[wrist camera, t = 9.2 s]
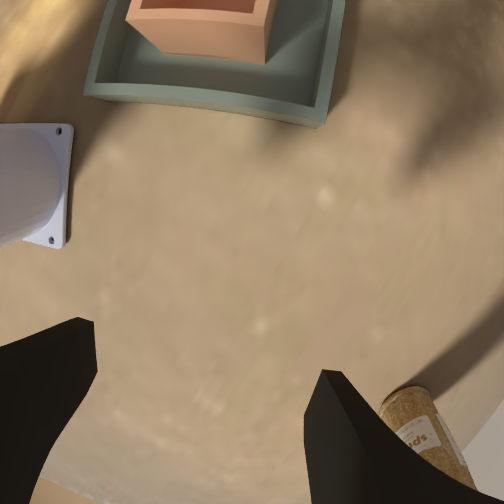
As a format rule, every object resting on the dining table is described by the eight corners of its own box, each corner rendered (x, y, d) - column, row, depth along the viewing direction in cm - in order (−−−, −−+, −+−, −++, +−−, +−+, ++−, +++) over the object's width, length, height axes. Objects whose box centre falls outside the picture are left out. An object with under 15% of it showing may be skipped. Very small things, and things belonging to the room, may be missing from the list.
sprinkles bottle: (384, 386, 21) (443, 541, 8) (436, 380, 21) (509, 513, 8) (371, 427, 22) (410, 568, 9) (419, 420, 22) (471, 546, 9)
